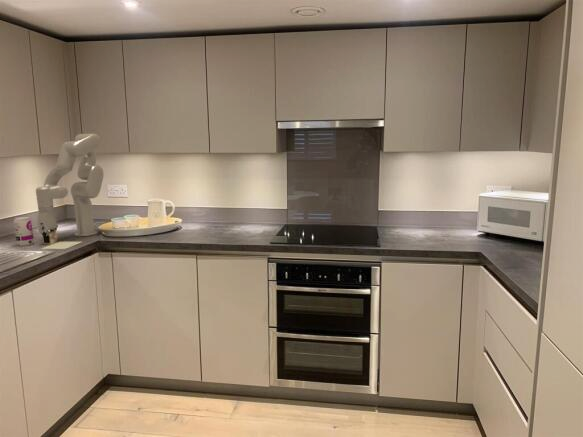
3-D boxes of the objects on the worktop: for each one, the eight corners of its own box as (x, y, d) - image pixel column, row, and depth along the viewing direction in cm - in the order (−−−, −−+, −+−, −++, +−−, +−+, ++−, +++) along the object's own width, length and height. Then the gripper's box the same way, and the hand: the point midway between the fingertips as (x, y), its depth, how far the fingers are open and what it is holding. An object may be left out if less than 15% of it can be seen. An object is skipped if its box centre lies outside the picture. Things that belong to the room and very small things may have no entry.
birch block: (49, 241, 252) (48, 231, 251) (57, 241, 251) (56, 231, 250) (43, 244, 247) (42, 233, 246) (51, 244, 246) (50, 233, 245)
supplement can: (37, 242, 251) (33, 216, 248) (29, 246, 243) (25, 219, 240) (22, 243, 251) (18, 216, 248) (14, 246, 243) (10, 219, 240)
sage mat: (59, 242, 251) (59, 241, 251) (82, 242, 249) (82, 241, 249) (40, 249, 235) (40, 248, 235) (65, 249, 233) (64, 248, 233)
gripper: (49, 206, 255) (53, 238, 258) (29, 212, 238) (33, 245, 241) (62, 206, 254) (66, 238, 257) (42, 211, 237) (46, 245, 240)
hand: (50, 241), depth 249 cm, fingers closed on birch block, 5 cm apart
